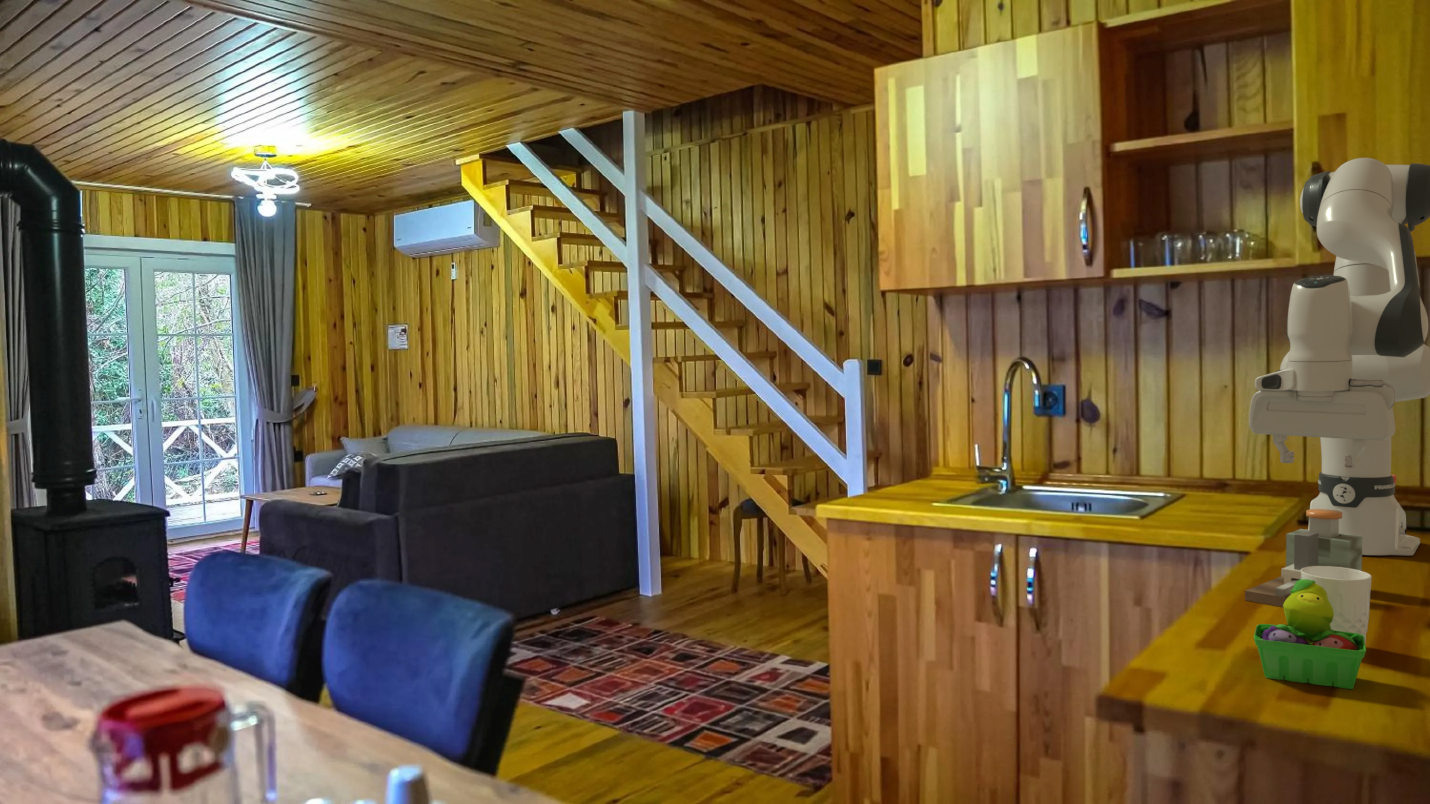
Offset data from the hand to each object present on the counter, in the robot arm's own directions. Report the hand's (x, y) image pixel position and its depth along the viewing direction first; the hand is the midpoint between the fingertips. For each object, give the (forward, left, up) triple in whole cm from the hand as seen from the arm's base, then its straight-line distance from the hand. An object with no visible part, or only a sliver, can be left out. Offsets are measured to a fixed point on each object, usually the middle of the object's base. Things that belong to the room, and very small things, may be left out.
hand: (1318, 465), depth 160 cm
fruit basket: (+45, +15, -20) cm, 52 cm away
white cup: (+31, +13, -20) cm, 39 cm away
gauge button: (-2, 0, -12) cm, 12 cm away
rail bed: (+5, 0, -20) cm, 21 cm away
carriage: (+5, 0, -18) cm, 19 cm away
